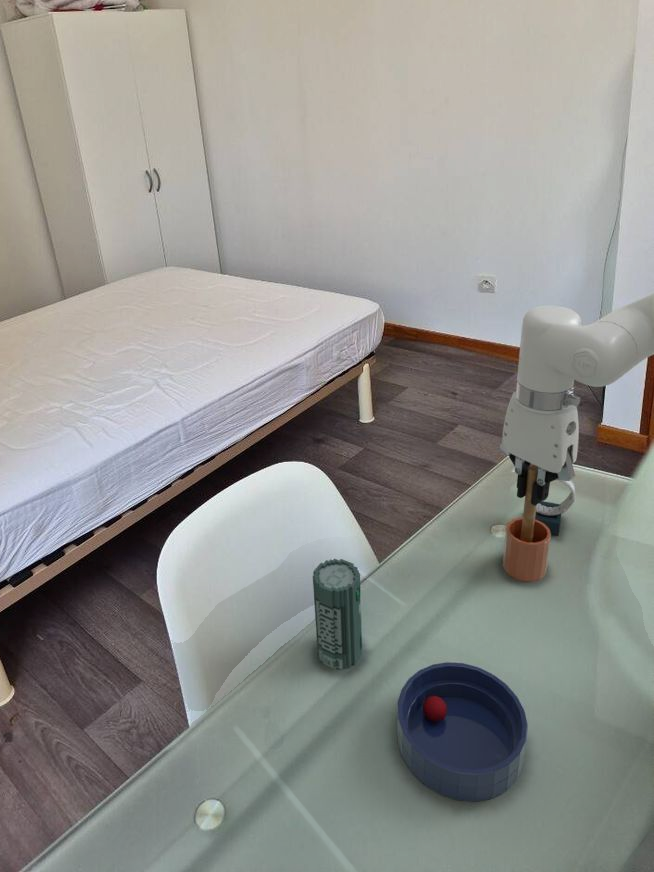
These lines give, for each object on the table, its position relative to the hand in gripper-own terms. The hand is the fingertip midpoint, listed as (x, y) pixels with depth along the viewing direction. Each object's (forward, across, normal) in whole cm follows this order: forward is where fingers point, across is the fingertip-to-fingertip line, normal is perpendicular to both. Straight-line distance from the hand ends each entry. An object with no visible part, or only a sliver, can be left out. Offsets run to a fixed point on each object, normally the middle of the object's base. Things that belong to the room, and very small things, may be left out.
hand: (531, 496), depth 106 cm
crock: (+15, 0, 0) cm, 15 cm away
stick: (+13, 0, 0) cm, 13 cm away
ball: (+11, -10, +32) cm, 35 cm away
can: (+15, +7, +34) cm, 38 cm away
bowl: (+14, -13, +32) cm, 38 cm away
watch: (+15, +4, -12) cm, 19 cm away
